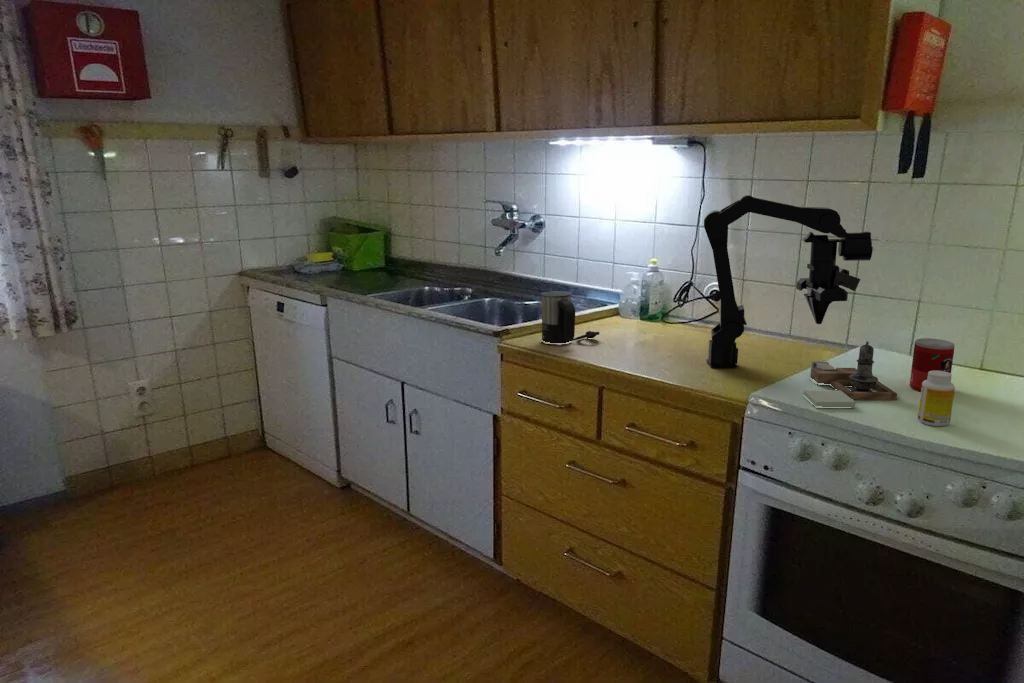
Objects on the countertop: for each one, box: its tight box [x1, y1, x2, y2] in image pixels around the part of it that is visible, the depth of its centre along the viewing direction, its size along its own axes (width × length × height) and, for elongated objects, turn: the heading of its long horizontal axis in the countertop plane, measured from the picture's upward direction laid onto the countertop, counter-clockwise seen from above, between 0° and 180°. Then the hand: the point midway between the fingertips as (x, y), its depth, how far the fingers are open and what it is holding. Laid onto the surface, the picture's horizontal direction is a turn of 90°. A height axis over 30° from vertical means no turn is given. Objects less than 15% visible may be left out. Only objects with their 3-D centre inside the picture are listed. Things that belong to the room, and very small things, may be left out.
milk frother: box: [540, 290, 601, 343], centre depth 208 cm, size 14×16×15 cm
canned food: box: [909, 337, 955, 393], centre depth 160 cm, size 8×8×11 cm
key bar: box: [810, 361, 836, 371], centre depth 171 cm, size 4×7×3 cm, turn 177°
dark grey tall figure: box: [849, 341, 879, 392], centre depth 158 cm, size 6×6×12 cm
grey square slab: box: [802, 389, 856, 409], centre depth 153 cm, size 8×8×2 cm
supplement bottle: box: [917, 371, 956, 427], centre depth 139 cm, size 6×6×10 cm
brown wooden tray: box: [809, 367, 898, 401], centre depth 161 cm, size 13×15×3 cm
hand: (818, 323), depth 175 cm, fingers closed
